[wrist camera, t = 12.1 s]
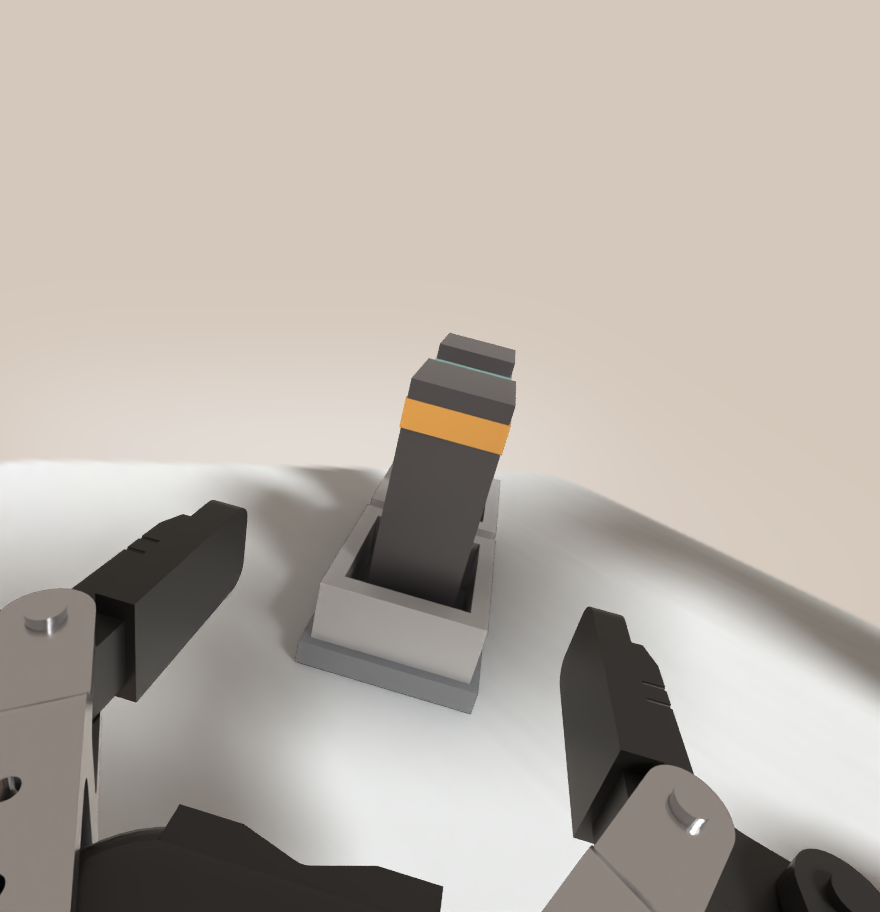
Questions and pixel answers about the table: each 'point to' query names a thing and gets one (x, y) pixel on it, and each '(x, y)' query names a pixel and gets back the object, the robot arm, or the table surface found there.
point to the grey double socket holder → (403, 619)
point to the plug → (440, 479)
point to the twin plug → (477, 356)
